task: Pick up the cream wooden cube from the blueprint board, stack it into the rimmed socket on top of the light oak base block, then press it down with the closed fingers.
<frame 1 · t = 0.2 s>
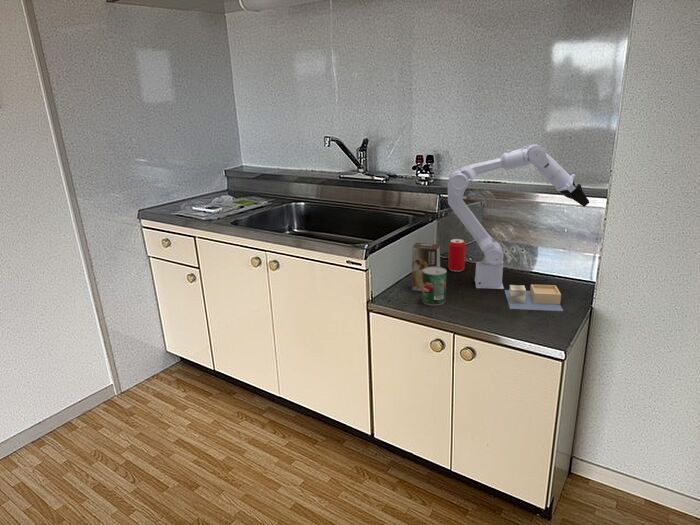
hand: (583, 202, 160), 31 cm above the countertop, tool tilted 45°, fingers open, 7 cm apart
coffee box: (425, 289, 175), on the countertop
blueprint board: (532, 301, 161), on the countertop
cream block: (516, 300, 161), point 1 cm above the countertop, touching blueprint board
canned tomato: (433, 301, 164), on the countertop
beverage can: (456, 270, 193), on the countertop
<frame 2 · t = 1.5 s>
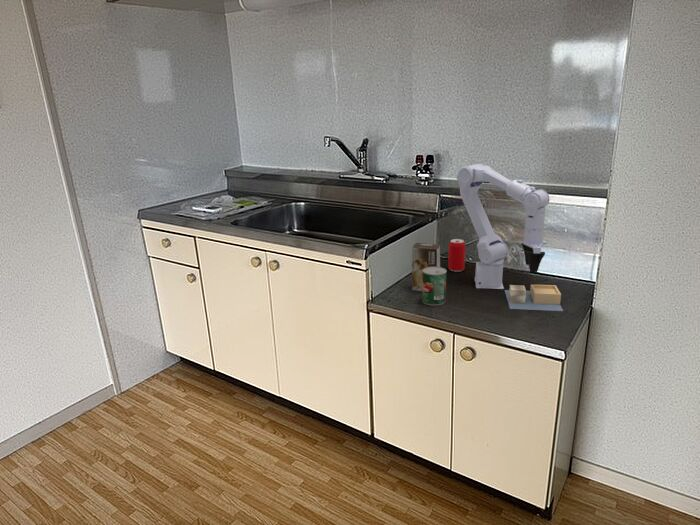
hand: (531, 268, 161), 10 cm above the countertop, tool pointing down, fingers open, 7 cm apart
nothing on the countertop moved.
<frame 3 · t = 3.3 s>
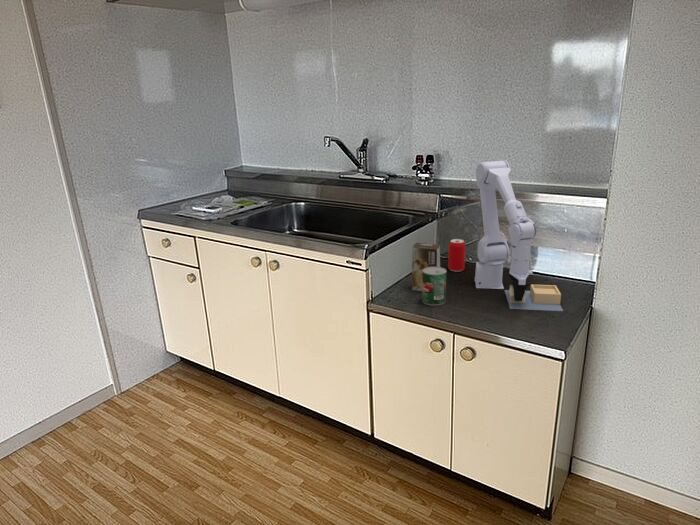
hand: (517, 297, 161), 2 cm above the countertop, tool pointing down, fingers closed on cream block, 4 cm apart
cream block: (516, 300, 161), point 1 cm above the countertop, touching blueprint board, gripper
everything else where it was.
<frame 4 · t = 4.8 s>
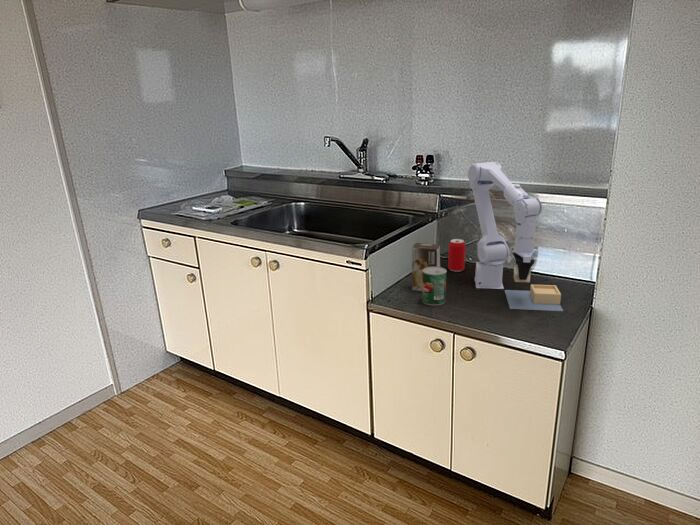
hand: (521, 276, 158), 9 cm above the countertop, tool pointing down, fingers closed on cream block, 4 cm apart
cream block: (521, 279, 159), point 8 cm above the countertop, touching gripper
everything else where it was.
when the fingers open (6 cm above the countertop, at t = 6.3 s): cream block drops 2 cm, resting on blueprint board.
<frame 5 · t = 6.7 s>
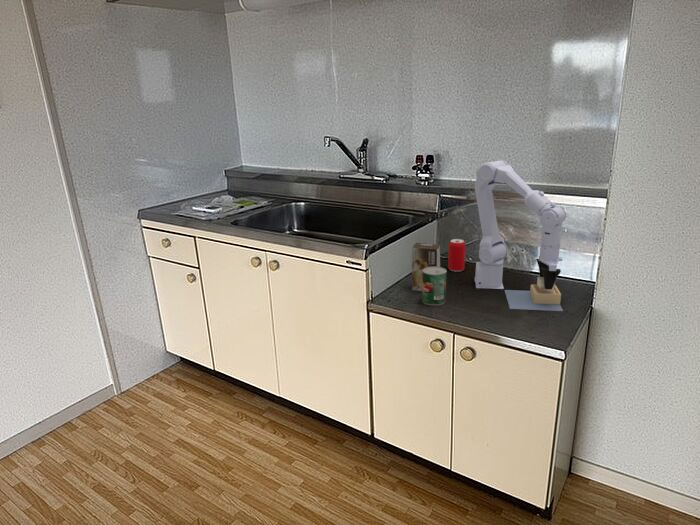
hand: (546, 284, 160), 6 cm above the countertop, tool pointing down, fingers open, 7 cm apart
cream block: (544, 292, 160), point 3 cm above the countertop, touching blueprint board
everything else where it was.
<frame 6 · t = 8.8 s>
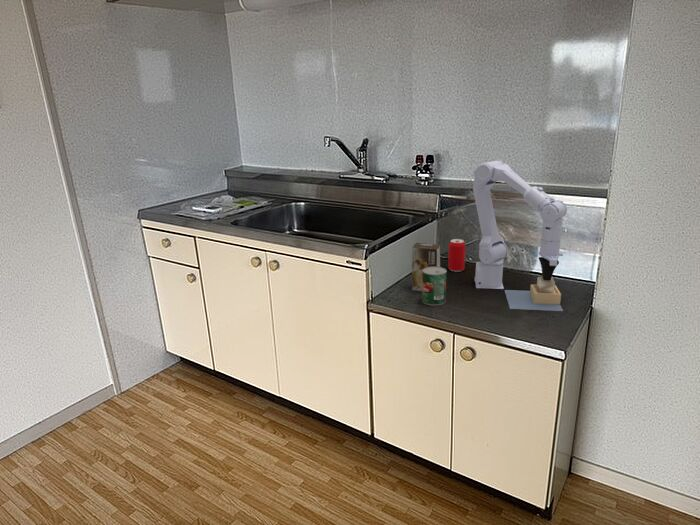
hand: (546, 279, 159), 7 cm above the countertop, tool pointing down, fingers closed, pressing on cream block
cream block: (544, 292, 160), point 3 cm above the countertop, touching blueprint board, gripper
everything else where it was.
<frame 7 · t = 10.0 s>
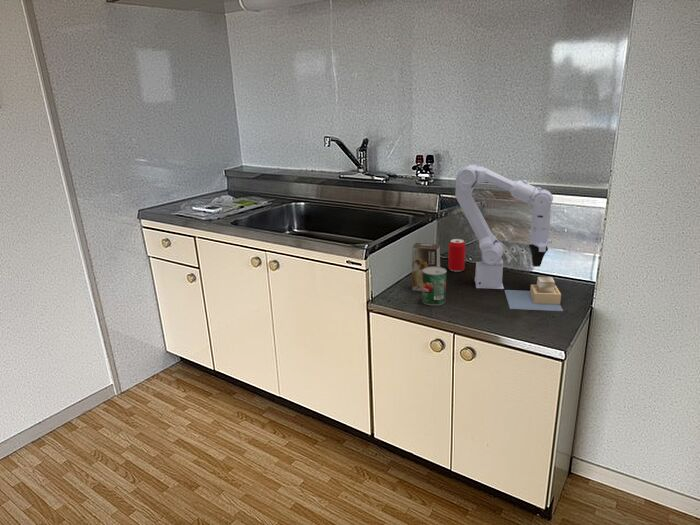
hand: (536, 265, 166), 9 cm above the countertop, tool pointing down, fingers closed
cream block: (544, 292, 160), point 3 cm above the countertop, touching blueprint board
everything else where it was.
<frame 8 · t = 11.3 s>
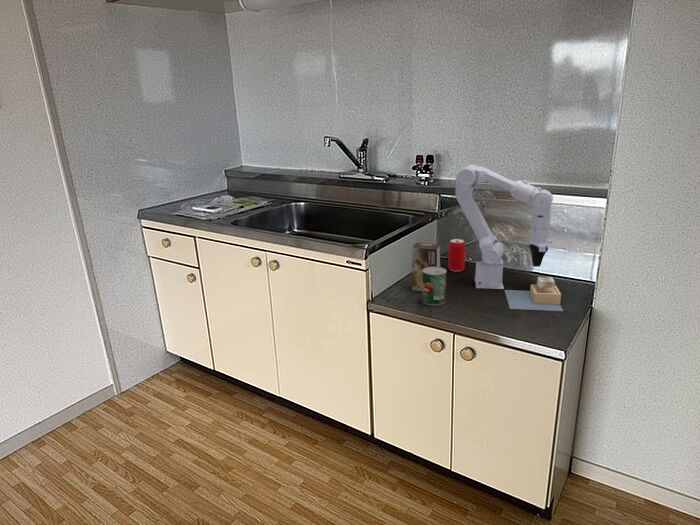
hand: (536, 265, 166), 9 cm above the countertop, tool pointing down, fingers closed
nothing on the countertop moved.
at the end: cream block 0.1 cm from the target spot on the blueprint board, point 3.1 cm above the blueprint board's base; cream block tilted 0°; the gripper is holding nothing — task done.
